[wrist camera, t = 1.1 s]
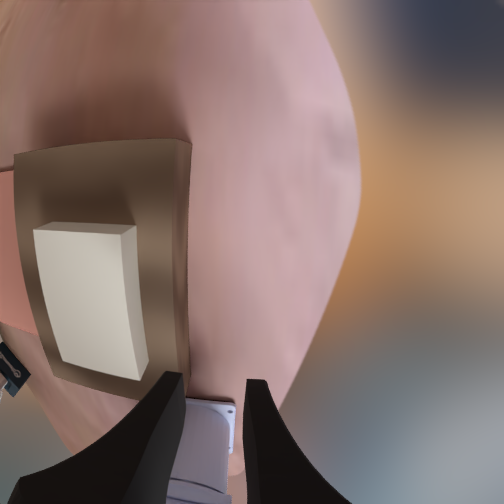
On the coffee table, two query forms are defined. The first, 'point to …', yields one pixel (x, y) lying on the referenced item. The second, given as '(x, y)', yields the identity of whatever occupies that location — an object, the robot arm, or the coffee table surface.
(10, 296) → the mat
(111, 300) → the tile
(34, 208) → the brown wooden block
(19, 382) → the watch
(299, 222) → the coffee table surface
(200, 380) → the coffee table surface
